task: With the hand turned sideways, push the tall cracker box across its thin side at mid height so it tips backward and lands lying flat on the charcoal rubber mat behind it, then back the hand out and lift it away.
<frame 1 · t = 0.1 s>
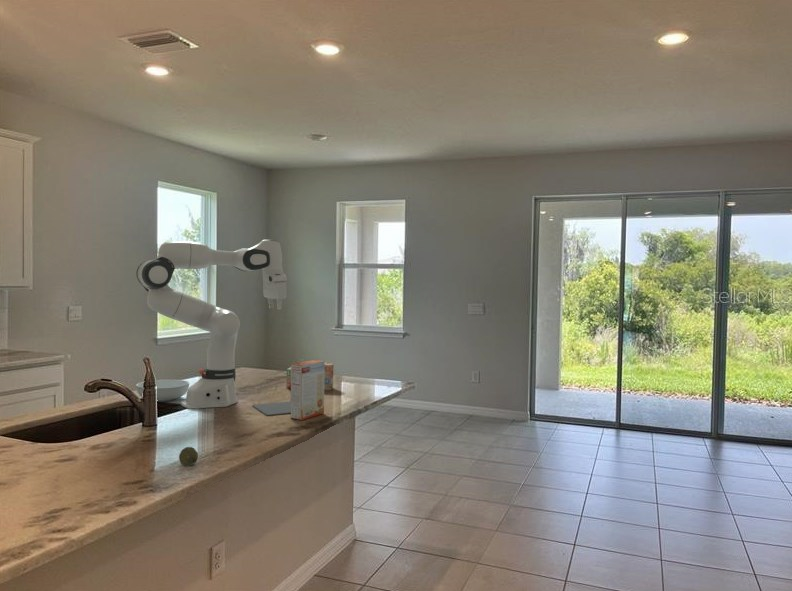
hand: (275, 308, 255), 39 cm above the table, tool pointing down, fingers open, 8 cm apart
lime: (188, 465, 166), on the table
serving bowl: (162, 400, 247), on the table
stack of blocks: (309, 388, 280), on the table
cracker box: (307, 416, 226), on the table
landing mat: (283, 408, 237), on the table
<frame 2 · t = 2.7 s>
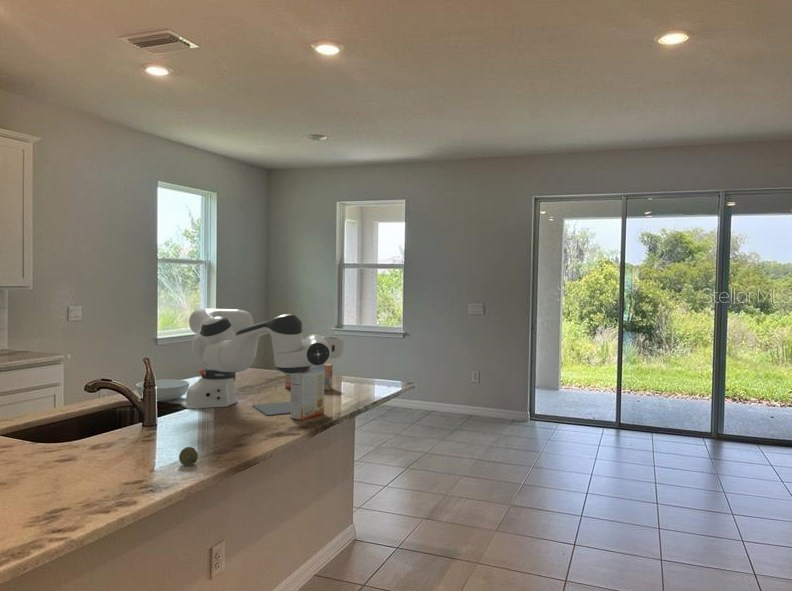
hand: (313, 342, 210), 30 cm above the table, tool horizontal, fingers open, 8 cm apart
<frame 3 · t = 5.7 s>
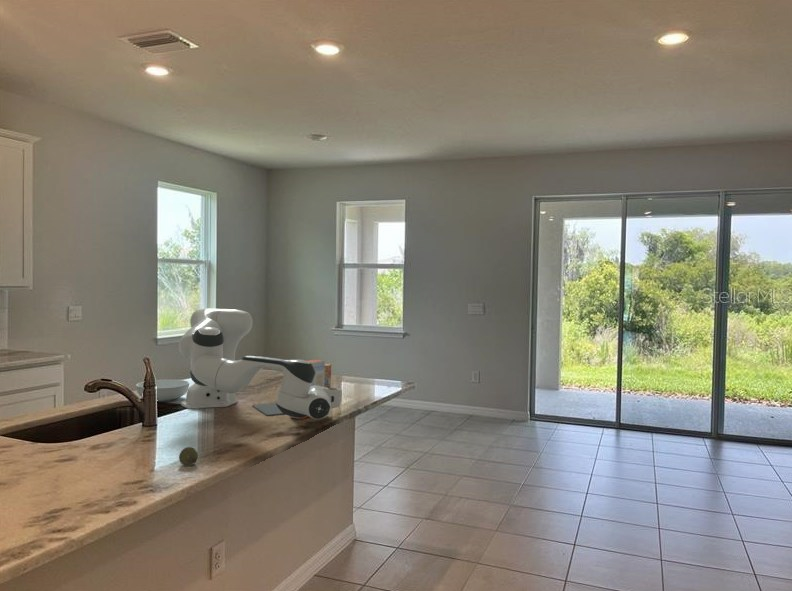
hand: (312, 390, 220), 11 cm above the table, tool horizontal, fingers open, 8 cm apart
cracker box: (306, 415, 227), on the table, touching gripper
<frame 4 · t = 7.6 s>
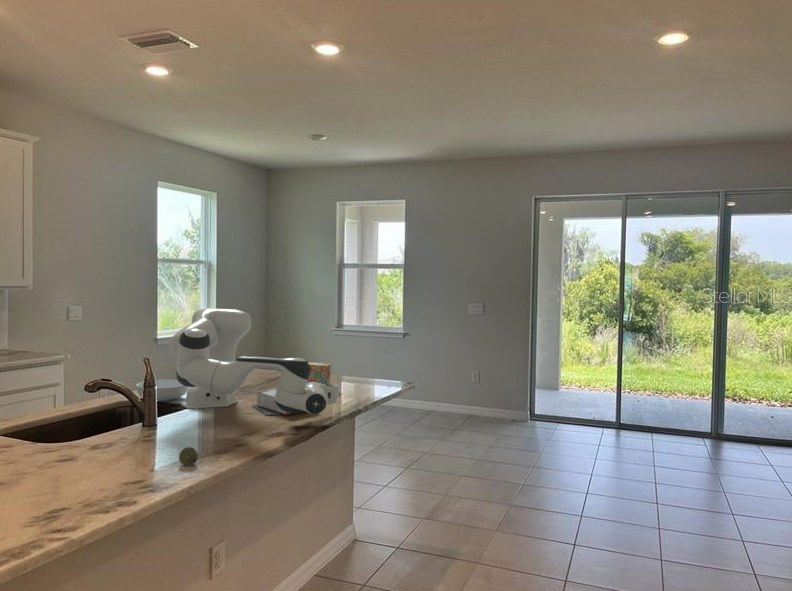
hand: (311, 387, 228), 11 cm above the table, tool horizontal, fingers open, 8 cm apart
cracker box: (301, 405, 229), point 3 cm above the table, touching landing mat
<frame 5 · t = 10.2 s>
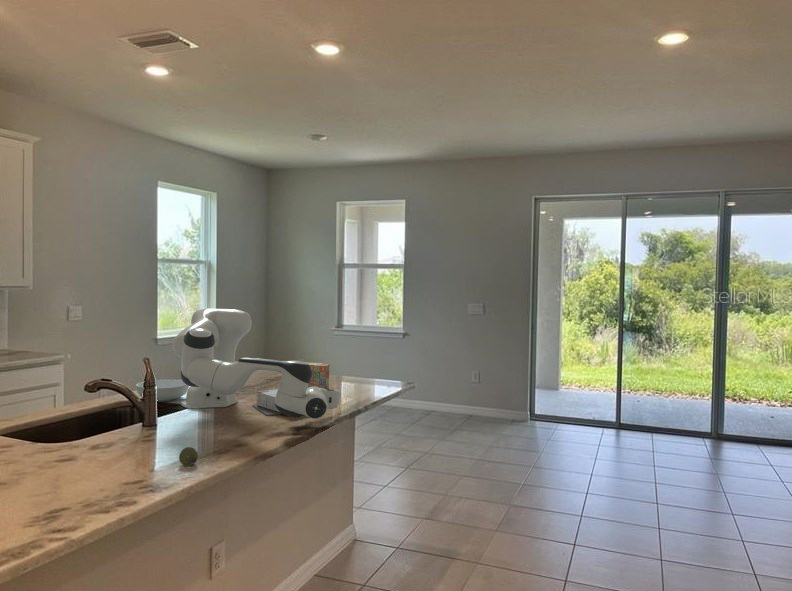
hand: (312, 392, 225), 9 cm above the table, tool horizontal, fingers open, 8 cm apart
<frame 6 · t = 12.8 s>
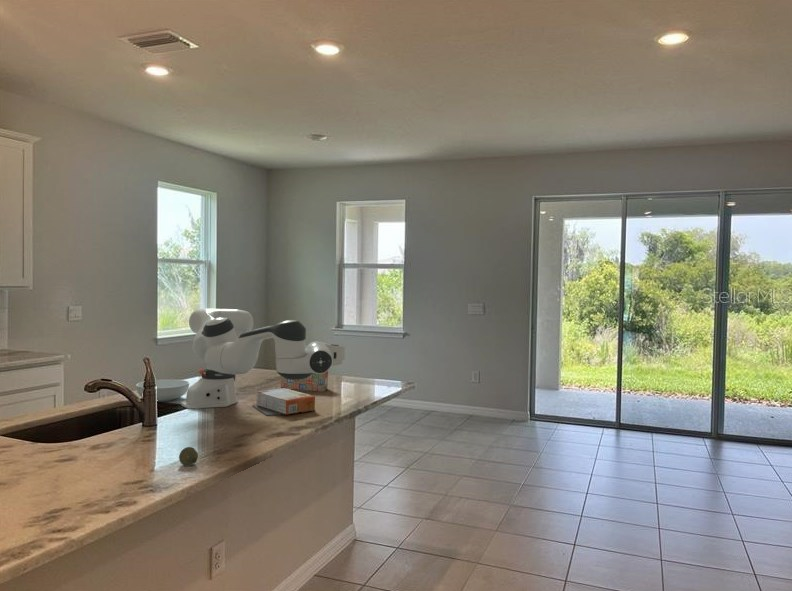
hand: (314, 349, 210), 28 cm above the table, tool horizontal, fingers open, 8 cm apart
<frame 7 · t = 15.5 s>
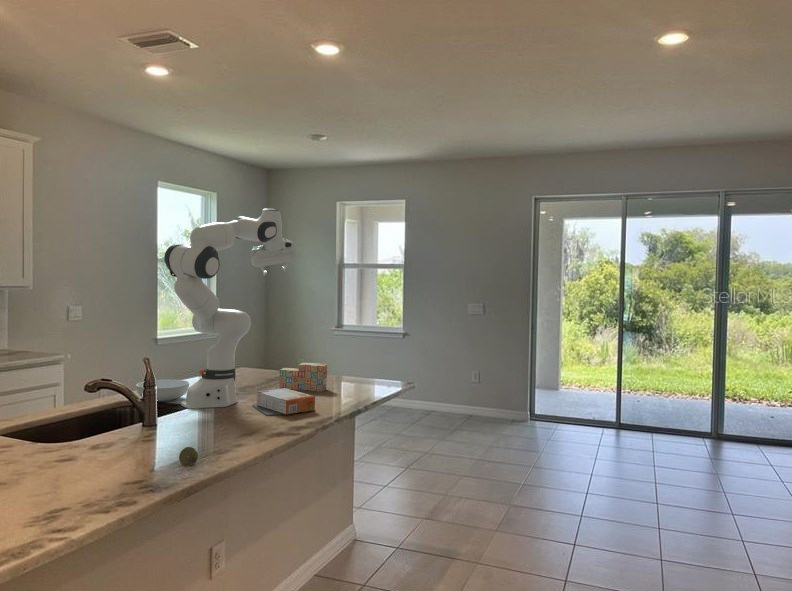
hand: (274, 273, 269), 54 cm above the table, tool tilted 20°, fingers open, 8 cm apart
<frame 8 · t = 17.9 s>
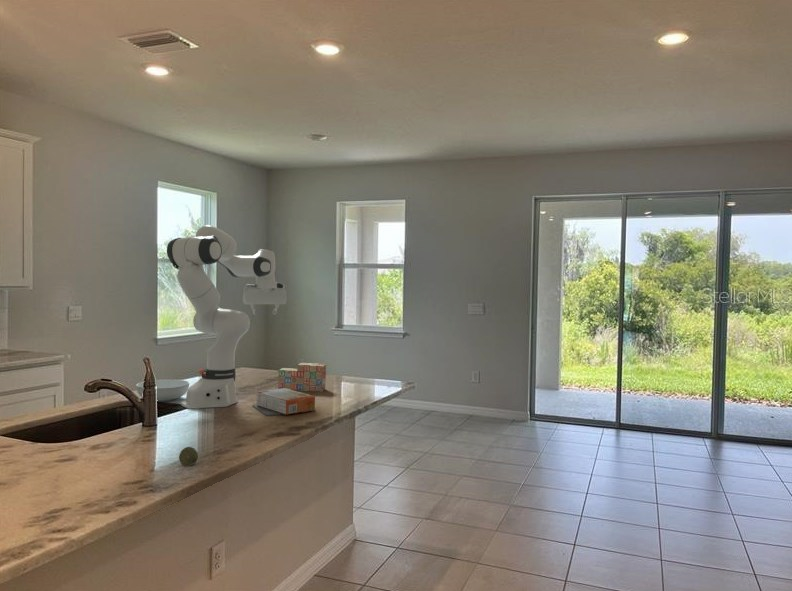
hand: (264, 314, 273), 35 cm above the table, tool pointing down, fingers open, 8 cm apart
at the end: cracker box tilted 89°; cracker box touching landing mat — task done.
